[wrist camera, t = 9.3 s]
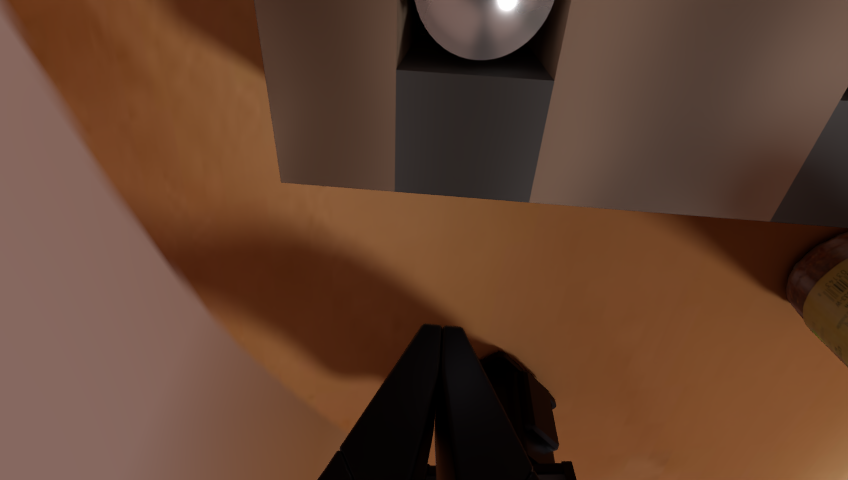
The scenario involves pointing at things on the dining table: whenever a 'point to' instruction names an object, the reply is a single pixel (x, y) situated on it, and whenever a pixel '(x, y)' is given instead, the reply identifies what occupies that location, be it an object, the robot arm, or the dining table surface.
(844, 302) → the sauce bottle
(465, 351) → the robot arm
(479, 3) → the peg
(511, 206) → the dining table surface
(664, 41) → the walnut block
